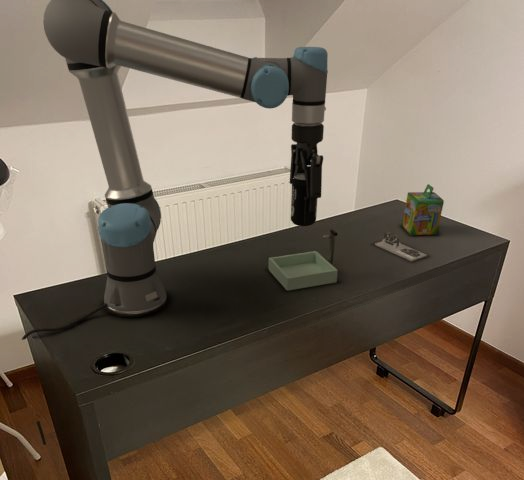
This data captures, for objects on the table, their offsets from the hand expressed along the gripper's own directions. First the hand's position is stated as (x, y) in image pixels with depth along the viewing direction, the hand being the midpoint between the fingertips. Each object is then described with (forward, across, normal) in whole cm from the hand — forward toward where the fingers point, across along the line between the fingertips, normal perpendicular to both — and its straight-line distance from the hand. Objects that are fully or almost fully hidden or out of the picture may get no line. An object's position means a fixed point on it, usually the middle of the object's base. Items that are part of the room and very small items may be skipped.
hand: (303, 218), depth 136 cm
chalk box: (+17, +18, -51) cm, 57 cm away
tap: (+17, 0, -9) cm, 19 cm away
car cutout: (+17, +6, -36) cm, 40 cm away
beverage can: (+1, 0, 0) cm, 1 cm away
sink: (+17, 0, 0) cm, 17 cm away
